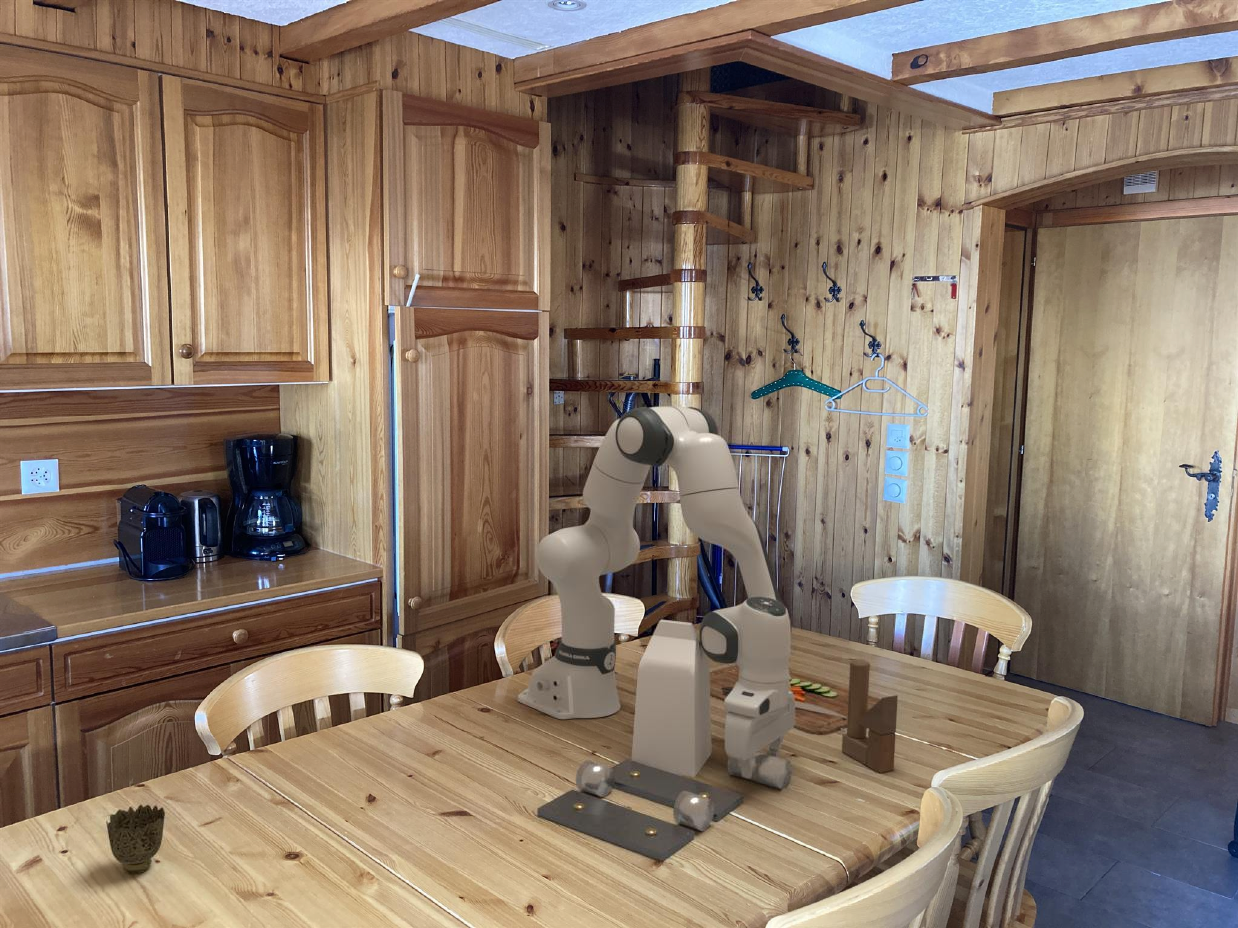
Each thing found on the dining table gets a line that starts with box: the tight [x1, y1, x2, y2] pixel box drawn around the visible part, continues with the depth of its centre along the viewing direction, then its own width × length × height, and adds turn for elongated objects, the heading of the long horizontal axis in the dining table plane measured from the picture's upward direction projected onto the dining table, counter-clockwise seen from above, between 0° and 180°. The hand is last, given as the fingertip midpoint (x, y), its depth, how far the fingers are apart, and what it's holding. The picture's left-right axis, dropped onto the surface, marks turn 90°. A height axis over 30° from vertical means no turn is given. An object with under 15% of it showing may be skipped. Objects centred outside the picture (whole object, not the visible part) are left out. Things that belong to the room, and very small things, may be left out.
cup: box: [105, 804, 166, 874], centre depth 141 cm, size 8×7×8 cm
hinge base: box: [536, 759, 745, 863], centre depth 163 cm, size 24×25×5 cm
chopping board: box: [710, 663, 881, 736], centre depth 219 cm, size 45×27×3 cm, turn 41°
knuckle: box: [727, 751, 793, 790], centre depth 175 cm, size 10×5×5 cm, turn 54°
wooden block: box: [841, 659, 899, 774], centre depth 183 cm, size 4×11×18 cm, turn 26°
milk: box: [630, 619, 712, 778], centre depth 182 cm, size 12×12×26 cm
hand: (760, 767), depth 175 cm, fingers open, 8 cm apart
